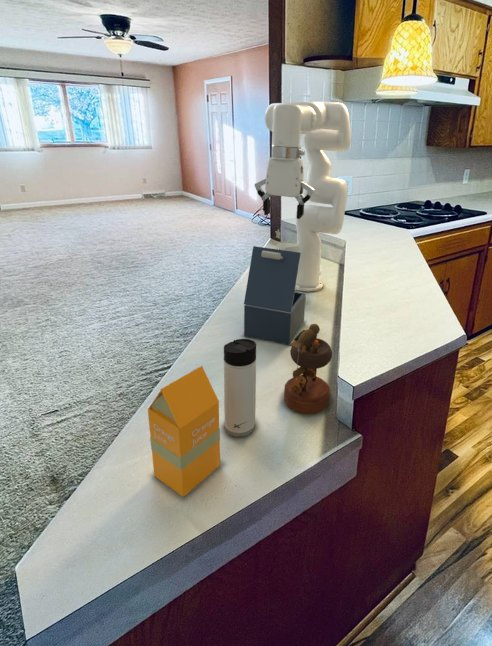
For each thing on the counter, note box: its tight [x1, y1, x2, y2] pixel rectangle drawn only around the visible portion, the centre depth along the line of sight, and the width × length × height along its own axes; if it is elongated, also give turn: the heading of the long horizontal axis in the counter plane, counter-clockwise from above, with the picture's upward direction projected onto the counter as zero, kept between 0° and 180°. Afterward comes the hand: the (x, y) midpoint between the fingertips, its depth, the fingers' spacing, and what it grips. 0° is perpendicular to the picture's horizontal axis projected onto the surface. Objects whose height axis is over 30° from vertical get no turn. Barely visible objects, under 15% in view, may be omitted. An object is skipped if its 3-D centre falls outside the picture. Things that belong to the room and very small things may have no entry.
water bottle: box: [274, 228, 300, 292], centre depth 147 cm, size 8×9×25 cm
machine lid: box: [243, 245, 301, 312], centre depth 113 cm, size 17×14×6 cm
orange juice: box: [147, 365, 221, 498], centre depth 70 cm, size 8×9×20 cm
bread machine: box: [243, 291, 307, 346], centre depth 124 cm, size 16×14×10 cm
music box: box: [283, 323, 333, 415], centre depth 92 cm, size 15×11×20 cm
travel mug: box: [223, 338, 257, 438], centre depth 81 cm, size 6×7×20 cm
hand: (283, 216), depth 117 cm, fingers open, 9 cm apart
